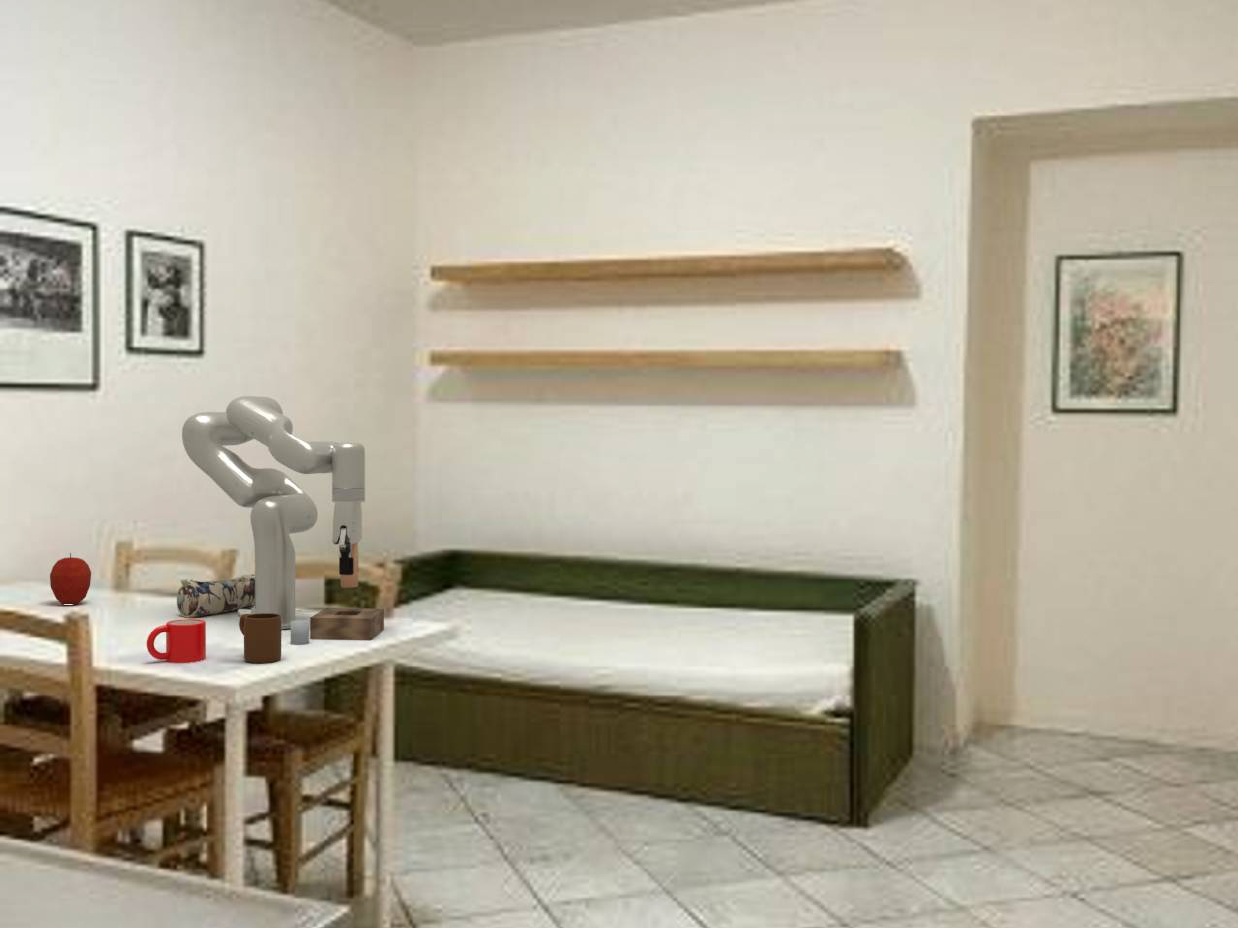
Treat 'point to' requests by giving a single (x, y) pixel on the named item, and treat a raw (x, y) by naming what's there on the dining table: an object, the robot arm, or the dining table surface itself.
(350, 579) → the long pin
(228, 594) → the pencil case
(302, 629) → the short pin
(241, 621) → the mug
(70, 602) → the apple
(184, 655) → the mug
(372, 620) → the walnut hole block
